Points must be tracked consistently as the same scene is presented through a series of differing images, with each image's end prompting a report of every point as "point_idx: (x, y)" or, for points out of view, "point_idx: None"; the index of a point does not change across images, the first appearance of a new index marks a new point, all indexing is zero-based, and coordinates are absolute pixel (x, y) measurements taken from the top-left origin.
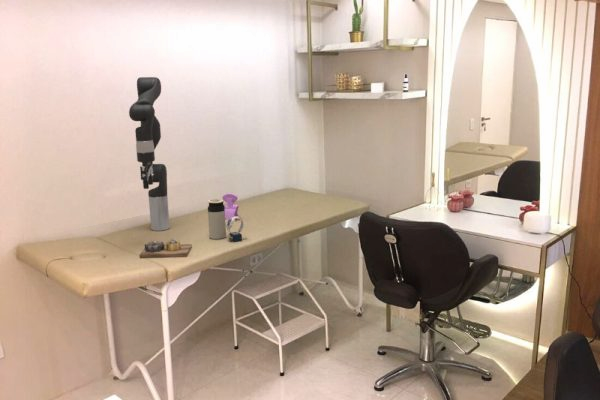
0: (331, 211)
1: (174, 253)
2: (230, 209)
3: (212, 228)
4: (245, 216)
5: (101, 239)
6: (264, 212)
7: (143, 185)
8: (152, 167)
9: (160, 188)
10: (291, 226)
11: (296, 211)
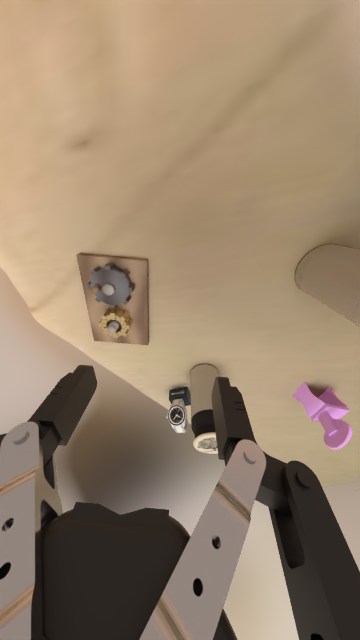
0: None
1: (91, 322)
2: (315, 410)
3: (193, 383)
4: None
5: (283, 57)
6: None
7: (66, 382)
8: (294, 608)
9: None
10: None
11: (305, 451)
